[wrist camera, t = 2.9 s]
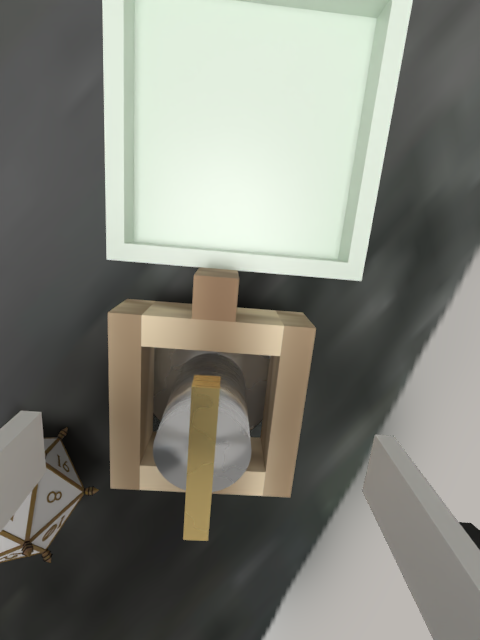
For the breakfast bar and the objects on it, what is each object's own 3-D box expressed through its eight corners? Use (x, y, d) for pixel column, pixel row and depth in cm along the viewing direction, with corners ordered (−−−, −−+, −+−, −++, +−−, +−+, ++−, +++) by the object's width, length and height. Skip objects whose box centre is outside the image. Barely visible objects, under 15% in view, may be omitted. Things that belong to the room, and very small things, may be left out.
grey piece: (158, 401, 25) (100, 544, 14) (161, 300, 23) (95, 369, 12) (261, 408, 25) (287, 551, 14) (273, 308, 23) (313, 384, 12)
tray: (120, 256, 22) (106, 259, 19) (118, -30, 18) (101, -71, 15) (347, 275, 23) (361, 280, 20) (393, 5, 19) (418, -28, 16)
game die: (50, 414, 29) (-78, 403, 20) (135, 443, 26) (34, 445, 17) (4, 528, 26) (-166, 577, 17) (92, 572, 24) (-52, 655, 15)
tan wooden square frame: (127, 451, 21) (110, 488, 18) (127, 261, 18) (107, 267, 15) (281, 460, 21) (290, 497, 18) (307, 276, 18) (322, 285, 15)
